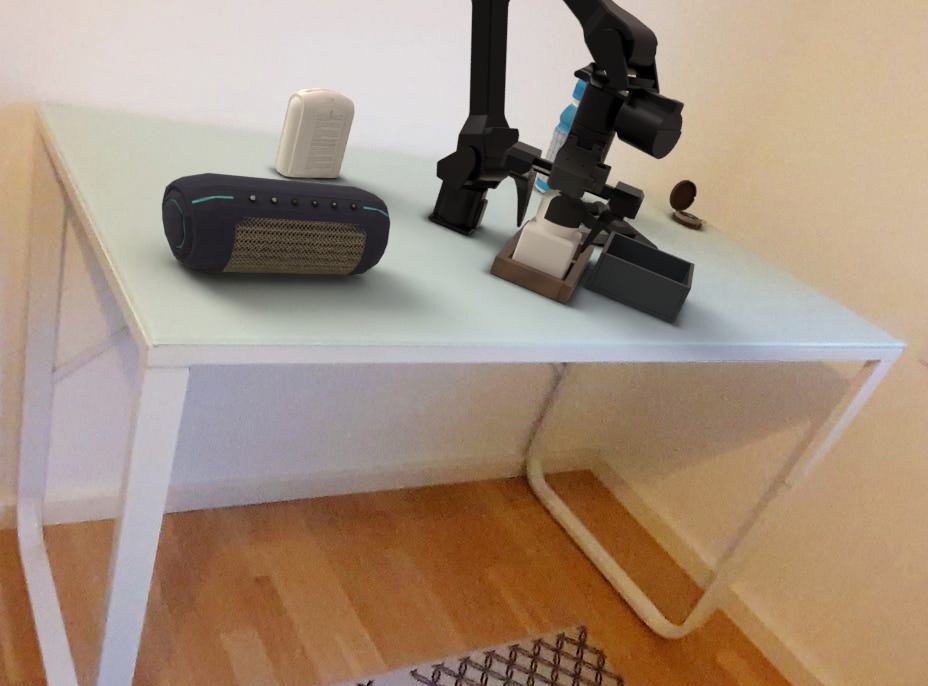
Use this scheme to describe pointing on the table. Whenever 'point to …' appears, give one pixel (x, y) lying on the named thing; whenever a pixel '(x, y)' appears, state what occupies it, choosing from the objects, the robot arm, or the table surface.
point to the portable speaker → (273, 225)
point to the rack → (536, 278)
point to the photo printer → (315, 134)
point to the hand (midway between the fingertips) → (549, 239)
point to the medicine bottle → (552, 234)
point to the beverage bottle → (561, 133)
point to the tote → (642, 277)
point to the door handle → (616, 226)
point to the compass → (684, 203)
